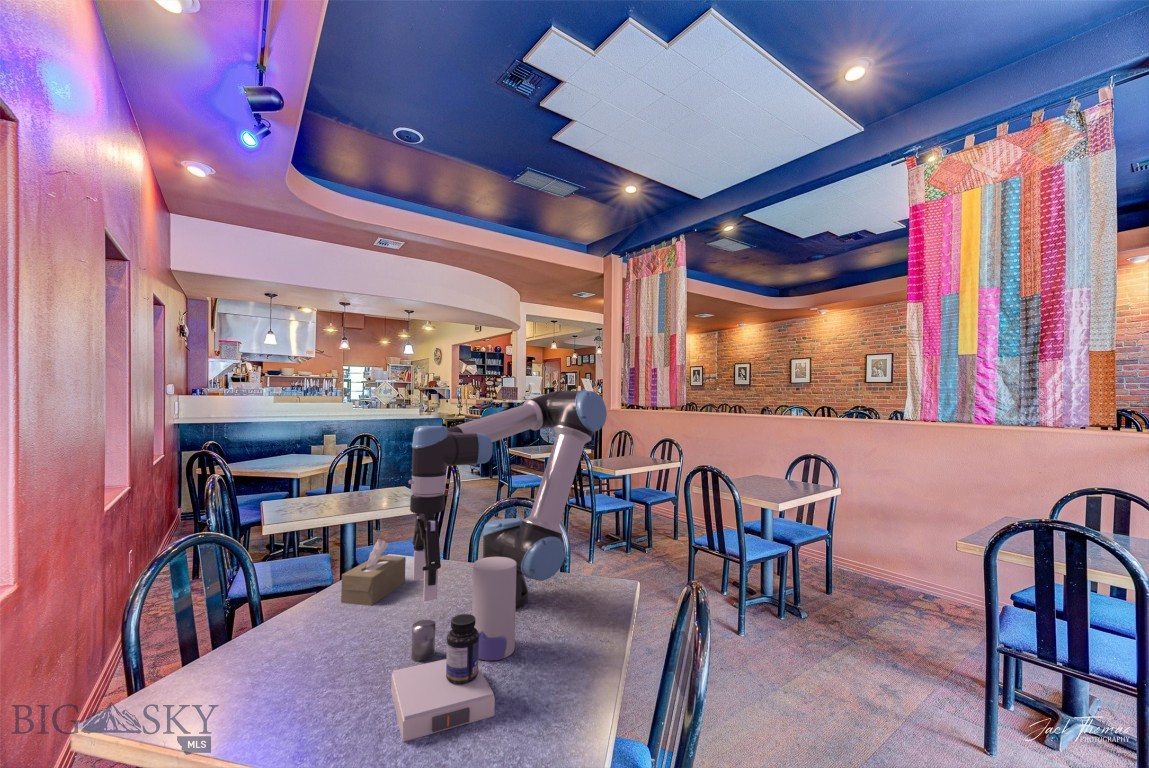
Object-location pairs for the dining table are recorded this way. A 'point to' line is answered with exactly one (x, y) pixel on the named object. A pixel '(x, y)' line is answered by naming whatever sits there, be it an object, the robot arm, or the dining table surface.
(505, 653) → the container
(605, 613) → the dining table surface
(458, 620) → the pill bottle
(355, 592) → the tissue box
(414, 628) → the cylinder
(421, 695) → the scale
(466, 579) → the dining table surface
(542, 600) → the dining table surface
